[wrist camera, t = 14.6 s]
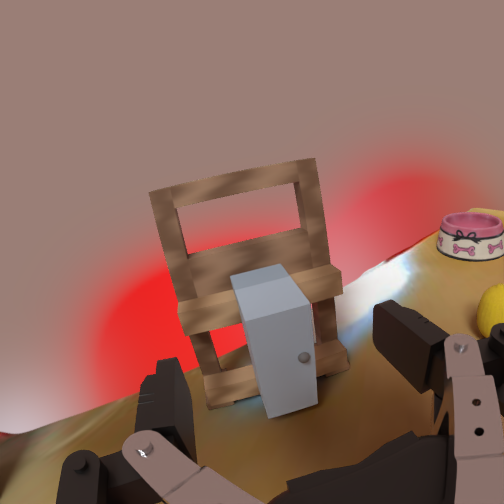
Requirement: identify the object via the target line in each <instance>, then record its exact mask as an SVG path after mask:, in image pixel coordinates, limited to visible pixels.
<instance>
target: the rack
mask: <svg viewBox="0 0 504 504" xmlns="http://www.w3.org/2000/svg"><path fill="white" fill-rule="evenodd" d="M288 183H294V188H295V194H296V200H297V206H298V212H299V217H300V224H301V228H297V229H293V230H289V231H284V232H280V233H276V234H271V235H267V236H263V237H259V238H255V239H250V240H246V241H242V242H238V243H233V244H229V245H226V246H221V247H217V248H213V249H208V250H205V251H200V252H196V253H192V254H188V253H187V249H186V246H185V242H184V238H183V234H182V230H181V225H180V221H179V217H178V213H177V209H176V208H178V207H182V206H186V205H190V204H195V203H199V202H203V201H207V200H211V199H216V198H221V197H225V196H230V195H234V194H239V193H243V192H248V191H253V190H258V189H262V188H267V187H272V186H277V185H283V184H288ZM149 196H150V200H151V204H152V208H153V212H154V216H155V220H156V224H157V228H158V232H159V236H160V240H161V244H162V247H163V251H164V254H165V258H166V262H167V265H168V269H169V272H170V276H171V279H172V283H173V286H174V289H175V293H176V296H177V299H178V316H179V319H180V322H181V325H182V328H183V331H184V334H185V336H189V337H190V339H191V342H192V345H193V348H194V351H195V354H196V357H197V360H198V363H199V365H200V368H201V371H202V374H203V376H204V387H205V395H206V404H207V407H208V409H209V410H211V409H216V408H220V407H225V406H229V405H233V404H234V401H235V400H240V399H244V398H248V397H251V396H255V395H259V394H260V391H259V388H258V385H257V381H256V377H255V373H254V369H253V365H249V366H245V367H241V368H237V369H233V370H229V371H227V369H226V368H225V369H221V367H220V364H219V361H218V358H217V355H216V352H215V348H214V345H213V342H212V339H211V335H210V332H209V331H210V330H214V329H218V328H222V327H226V326H231V325H234V324H239V323H242V320H241V315H240V311H239V307H238V303H237V300H236V297H235V294H234V291H233V287H232V283H231V279H230V276H232V275H236V274H240V273H244V272H248V271H252V270H256V269H260V268H264V267H268V266H272V265H276V264H280V263H281V265H282V266H283V267H284V269H285V270H286V271H287V273H288V274H289V275H290V277H291V278H292V279H293V281H294V282H295V283H296V285H297V286H298V287H299V289H300V290H301V291H302V293H303V294H304V295H305V297H306V298H307V299H308V301H309V302H310V304H311V303H312V308H313V316H314V325H315V333H316V342H317V343H314V351H315V365H316V377H318V376H321V375H324V374H325V376H326V377H328V376H331V375H334V374H337V373H340V372H342V371H345V370H348V369H349V362H348V360H347V349H346V348H345V347H344V346H343V345H342V344H341V342H340V341H339V340H338V339H337V326H336V314H335V302H334V297H335V296H338V295H341V294H343V288H342V277H341V271H340V270H339V269H337V268H336V267H334V266H333V265H331V264H330V255H329V247H328V240H327V231H326V224H325V217H324V210H323V204H322V197H321V191H320V184H319V178H318V172H317V167H316V161H315V158H309V159H302V160H296V161H290V162H284V163H278V164H273V165H268V166H262V167H257V168H251V169H246V170H242V171H237V172H232V173H227V174H222V175H218V176H213V177H209V178H205V179H200V180H195V181H191V182H187V183H183V184H179V185H175V186H171V187H167V188H163V189H159V190H155V191H151V192H149Z"/></svg>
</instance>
